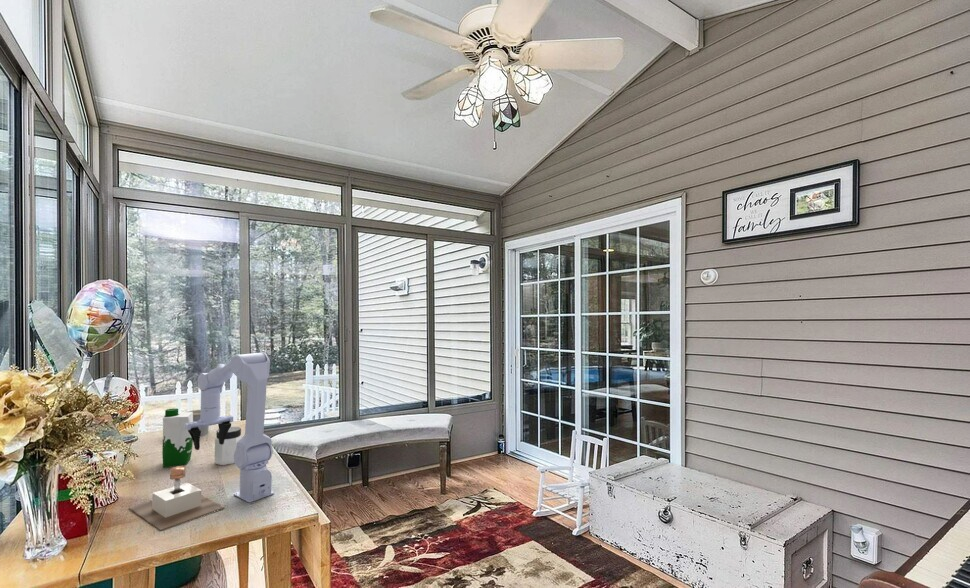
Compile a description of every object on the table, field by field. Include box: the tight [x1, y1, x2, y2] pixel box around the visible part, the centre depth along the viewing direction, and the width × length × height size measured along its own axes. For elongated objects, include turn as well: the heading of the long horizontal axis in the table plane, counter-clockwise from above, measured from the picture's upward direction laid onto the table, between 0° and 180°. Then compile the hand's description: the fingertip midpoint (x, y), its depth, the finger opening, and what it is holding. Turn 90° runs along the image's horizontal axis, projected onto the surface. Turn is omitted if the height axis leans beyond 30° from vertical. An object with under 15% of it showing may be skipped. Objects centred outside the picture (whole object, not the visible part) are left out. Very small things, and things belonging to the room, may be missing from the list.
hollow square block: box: [151, 482, 202, 518], centre depth 130 cm, size 9×9×5 cm
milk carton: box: [161, 408, 194, 468], centre depth 167 cm, size 9×9×20 cm
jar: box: [213, 426, 243, 466], centre depth 169 cm, size 9×8×12 cm
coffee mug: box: [186, 409, 209, 437], centre depth 202 cm, size 13×10×10 cm
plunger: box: [169, 465, 186, 494], centre depth 130 cm, size 4×4×7 cm
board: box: [128, 494, 225, 532], centre depth 130 cm, size 22×16×1 cm
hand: (209, 446), depth 155 cm, fingers open, 7 cm apart
